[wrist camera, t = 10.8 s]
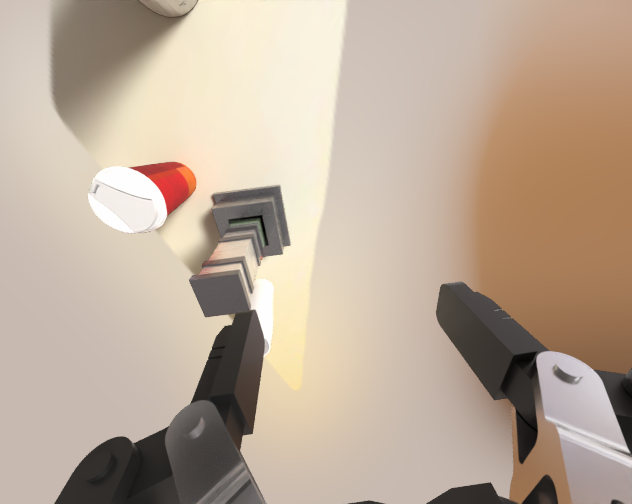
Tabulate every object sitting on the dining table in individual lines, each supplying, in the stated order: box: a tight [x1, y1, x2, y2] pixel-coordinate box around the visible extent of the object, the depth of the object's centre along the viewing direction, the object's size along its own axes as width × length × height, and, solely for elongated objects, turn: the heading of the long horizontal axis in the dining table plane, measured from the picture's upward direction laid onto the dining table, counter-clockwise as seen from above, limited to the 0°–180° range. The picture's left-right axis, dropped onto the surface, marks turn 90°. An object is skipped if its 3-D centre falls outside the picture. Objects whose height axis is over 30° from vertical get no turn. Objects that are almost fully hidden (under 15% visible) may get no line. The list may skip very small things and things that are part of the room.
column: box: [189, 218, 266, 317], centre depth 30 cm, size 5×5×16 cm
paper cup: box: [88, 162, 196, 233], centre depth 32 cm, size 8×8×14 cm
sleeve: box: [212, 185, 290, 260], centre depth 39 cm, size 11×11×7 cm
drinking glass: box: [232, 279, 274, 357], centre depth 43 cm, size 7×7×15 cm
